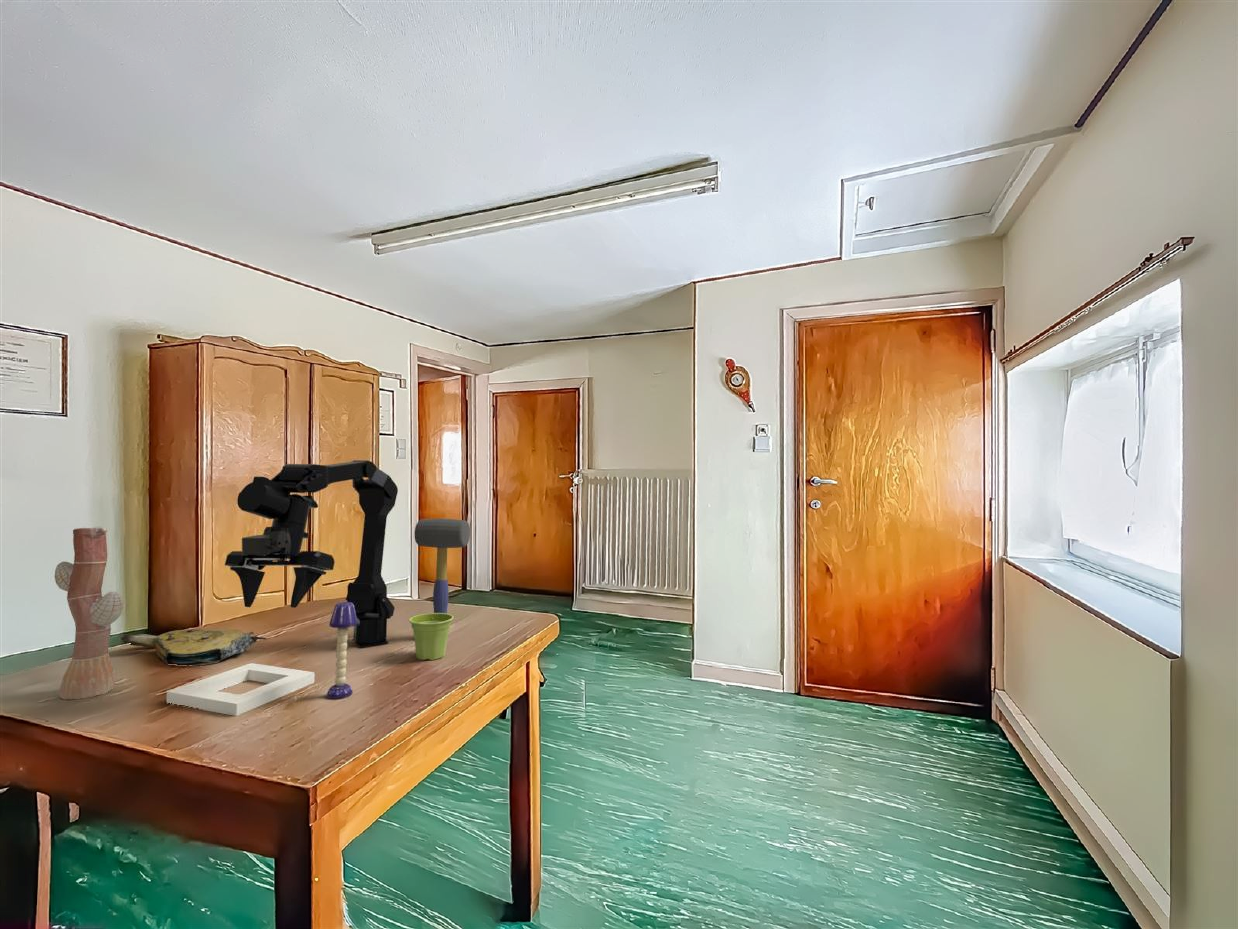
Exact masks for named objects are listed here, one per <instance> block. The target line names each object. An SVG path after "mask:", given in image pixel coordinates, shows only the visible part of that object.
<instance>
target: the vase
mask: <svg viewBox="0 0 1238 929" xmlns="http://www.w3.org/2000/svg"><path fill="white" fill-rule="evenodd" d="M107 531H108V530H107V528H106V527H101V526H96V527H95V526H94V527H80V528H74V529H73V530H72V537H73V538H72V542H73V551H74V553H73V554H74V557H73V563H72V562H68V561H61V562H59V563H58V564H57V565H56V567H55V570H54V576H53V577H54V582H55V584H56V586H57V587H58V588H59V589H60V590H62V591H65V592H67V594H66V600H67V604H68V608H69V611H70V614H71V616H72V619H73V621H74V624H75V635H74V636H75V637H74V646H73V651H72V657H71V658H72V659H71V661H70V663H69V665H68V667H67V669H66V671H65V673H64V675H63V677H62V680H61V683H60V688H59V692H58V694H59V695H58V697H59V698H60V699H61V698H62V699H61V700H66V699H75V700H81V699H80V698H84V699H89V697H90V698H94V696H95V697H97V696H96V695H99V696H101V695H100V694H102V695H104V694H103V693H105V692H107V691H109V692H111V691H112V690H111V689H112V688H114V689H115V688H116V674H115V671H114V667H113V664H112V661H111V658H110V655H109V645H110V637H111V634H112V633H111V630H112V627H111V624H113V623H114V622H116V621H118V619H119V618H120V617H121V615H122V613H123V611H124V610H123V609H124V603H123V602H124V601H123V600H122V597H121V595H120V593H119V592H117V591H109V592H107V593H106V594H104V595H103V594H102V587H103V583H104V582H103V581H104V575H105V570H106V568H107V567H106V566H107V561H108V546H107ZM110 690H111V691H110ZM105 694H106V693H105Z"/></svg>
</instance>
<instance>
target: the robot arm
mask: <svg viewBox="0 0 1238 929" xmlns="http://www.w3.org/2000/svg"><path fill="white" fill-rule="evenodd" d="M364 478H366V479H364ZM350 480H352V487H353V489H354V490H355V491H356V493H357V495H358V503H359V506H360V508H361V510H362V513H363V514H364V520H363V528H362V536H361V537H362V539H361V547H360V548H361V549H360V556H359V558H360V559H359V568H358V574H357V576H356V578H355V579H354V580H353V581H352V582H349V583H348V584H347V591H346V592H347V595H346V597H345V601H346V602H351V603H353V605H354V608H355V613H356V617H357V624H356V625H355V626H353V636H352V637H353V638H352V641H353V643H355V644H356V645H357V646H358V647H359V648H365V647H373V646H380V645H386V644H389V640H388V639H387V631H388V630H387V628H388V624H387V623H388V620H389V619H391V618H392V617H393V616H394V612H395V605H394V604H393V603H392V602H391V600H390V598H389V597H388V592H387V591H388V590H387V589H388V587H387V584H386V582H385V580H384V578H383V576H382V569H383V568H382V567H383V558H384V551H385V550H384V548H385V537H386V527H387V520H388V519H387V518H388V515H389V514H390V512H391V511H392V510H393V508H395V506H396V500H397V496H398V493H399V492H398V491H399V489H398V486H397V484H396V483H395V481H394V480H393V479H392V477H391V476H390V475H389V474H387V473H386V472H384V471H382V470H381V469H380V468H378V466H376V464H375V463H374V462H373V461H370V460H366V459H365V460H359V459H357V460H356V459H353V460H352V461H347V462H339V463H333V464H318V463H317V464H315V463H314V464H313V463H288V464H283V466H282V468H281V470H280V471H279V472H278V473H277V474H276V475H275V476H273V477H272V478H271V479H270V478H268V477H266V476H259V475H258V476H254V477H253V479H252V481H251V482H250V483H248V484H246V485H245V486H244V487H243V489H242V490H241V491H240V492H239V493H238V495H237V499H236V502H237V506H238V508H239V509H240V511H242V512H245V513H249V514H252V515H255V516H258V517H261V518H265V519H267V520H272V522H271V526H266V527H265V528H264V529H263V530H264V531H263V533H262V534H256V535H251V536H245V537H241V550H237V551H235V550H233V551H231V552H229V553H228V554H226V558H225V561H224V566H227V567H229V569H230V571H233V572H235V573H236V575H237V576H238V577H239V580H240V584H241V590H242V598H243V604H244V607H246V608H251V607H252V606H253V605H254V604H253V603H254V601H255V600H256V597H257V594H258V593H259V589H260V586H261V584H262V582H263V579H264V577H265V574H266V572H265V571H262V570H263V569H264V568H266V566H267V567H268V566H269V567H270V566H271V567H272V566H273V567H275V566H281V567H284V566H288V567H289V566H290V567H293V571H294V575H295V579H294V585H293V590H292V594H291V599H290V608H291V609H292V608H293V609H295V608H297V607H298V606H299V604H300V603H301V602H302V600H303V599H304V598H305V596H306V595H307V593H308V592H309V591H310V589H312V587H313V585H315V584H316V582H317V581H319V579H320V578H321V577H322V576H325V575H327V571H334V567H335V558H334V556H333V554H332V555H331V554H329V553H326V552H322V551H319V550H301V549H302V546H303V540H304V539H308V537H309V533H308V532H306V526H307V522H308V518H309V514H310V513H309V512H310V509H317V508H318V507H319V504H318V503H317V501H316V500H315V499H314V498H313V497H314V496H313V495H300V494H305V493H313V494H314V493H315V494H316V493H318V492H319V491H322V490H325V489H327V487H328V486H329V485H331V484H334V483H341V482H344V481H350ZM291 493H292V494H291Z"/></svg>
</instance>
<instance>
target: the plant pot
mask: <svg viewBox="0 0 1238 929" xmlns="http://www.w3.org/2000/svg"><path fill="white" fill-rule="evenodd" d="M408 620H409V621H408V622H409V623H410V624H411V628H412V632H413V638H414V647H415V656H416V659H418V660H420V661H425V660H431V661H435V660H438V659H442V658H443V657H444V656H445V654H446V652H447V643H448V636H449V632H450V626H451V625H452V621H453V620H454V616H453V615H452V614H450V613H447V614H446V613H434V612H431V613H423V614H422V613H421V614H417V615H414V616H412V617H410V618H409V619H408Z"/></svg>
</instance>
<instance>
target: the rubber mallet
mask: <svg viewBox="0 0 1238 929" xmlns="http://www.w3.org/2000/svg"><path fill="white" fill-rule="evenodd" d="M470 537H471V527H470V524H469V522H468V521H467V520H463V519H455V518H453V519H452V518H421V519H420V520H418V521H417V523H416V525H415V527H414V540H415V543H416V544H417V546H419V547H427V548H434V549H435V548H436V569H435V570H436V571H435V572H436V573H435V581H434V586H433V592H432V594H433V595H432V603H433V613H446V614H448V605H449V597H450V596H449V593H450V592H449V591H450V590H449V582H448V578H447V576H448V574H447V573H448V549H456V548H457V549H458V548H459V549H460V548H466V547H467V545H468V543H469V542H470Z"/></svg>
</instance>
